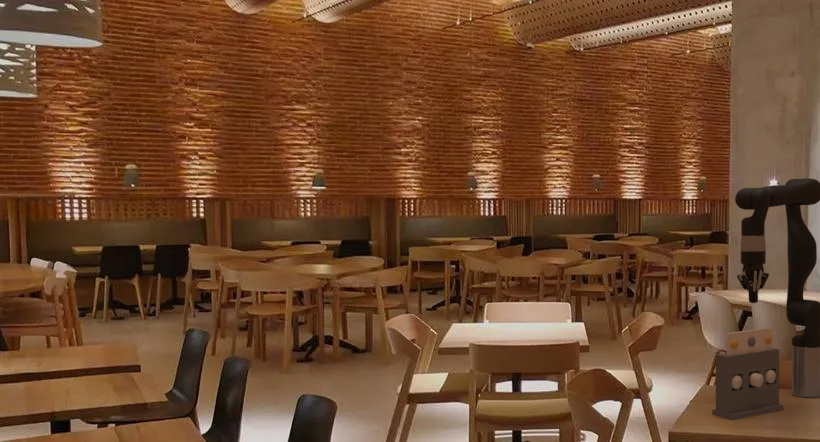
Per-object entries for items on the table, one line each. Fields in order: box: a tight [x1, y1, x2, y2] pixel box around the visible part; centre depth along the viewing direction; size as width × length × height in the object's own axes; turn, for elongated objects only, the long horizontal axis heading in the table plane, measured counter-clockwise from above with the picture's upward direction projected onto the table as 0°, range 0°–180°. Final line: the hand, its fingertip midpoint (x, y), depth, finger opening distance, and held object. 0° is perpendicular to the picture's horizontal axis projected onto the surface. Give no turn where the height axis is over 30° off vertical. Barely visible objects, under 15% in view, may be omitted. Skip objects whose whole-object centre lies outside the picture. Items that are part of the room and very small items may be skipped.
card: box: [726, 327, 774, 356], centre depth 275 cm, size 21×1×7 cm, turn 119°
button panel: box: [711, 347, 784, 421], centre depth 277 cm, size 24×8×20 cm, turn 119°
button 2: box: [766, 369, 776, 383], centre depth 280 cm, size 4×3×4 cm
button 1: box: [732, 375, 742, 389], centre depth 272 cm, size 4×3×4 cm
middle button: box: [749, 372, 764, 387], centre depth 274 cm, size 4×3×4 cm
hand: (753, 302), depth 279 cm, fingers closed
